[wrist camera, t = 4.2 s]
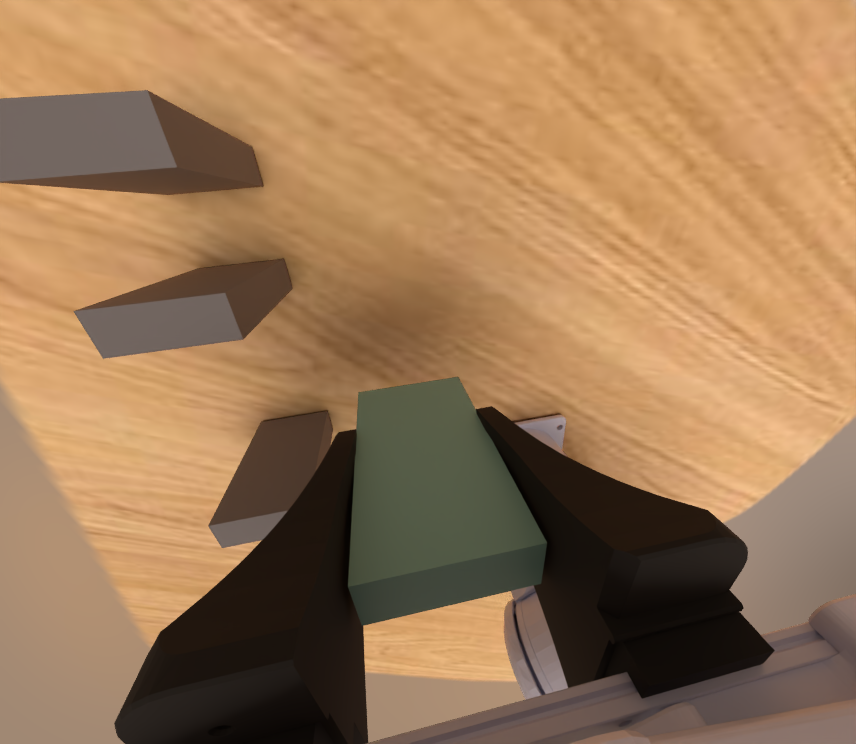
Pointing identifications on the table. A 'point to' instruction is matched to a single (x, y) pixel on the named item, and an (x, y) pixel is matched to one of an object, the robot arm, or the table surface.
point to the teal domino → (433, 506)
